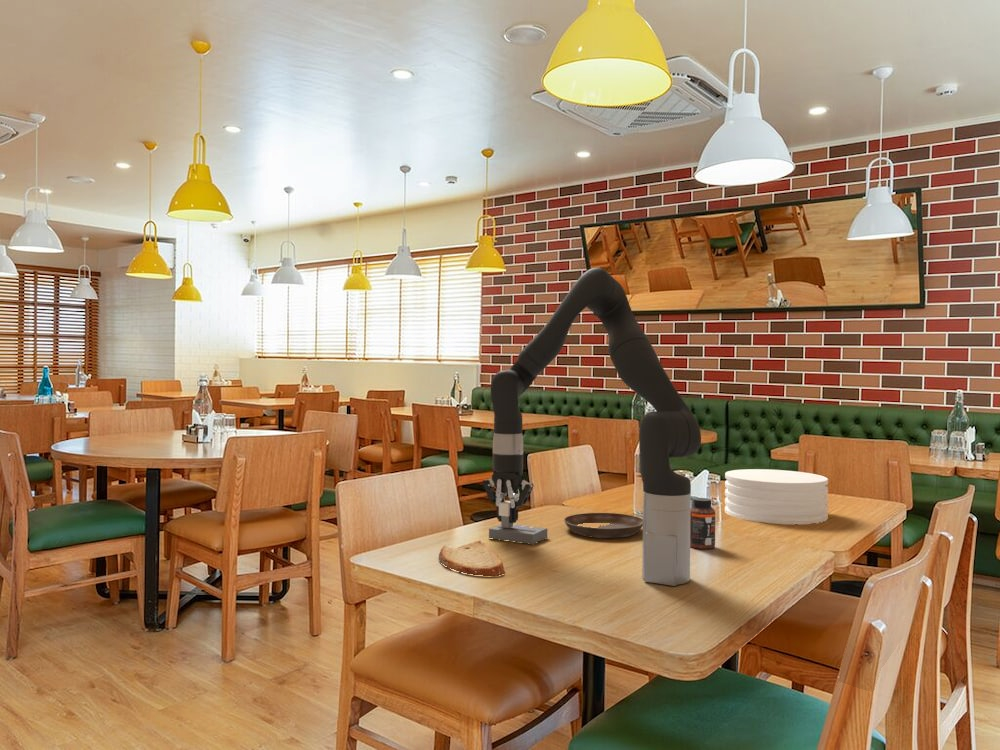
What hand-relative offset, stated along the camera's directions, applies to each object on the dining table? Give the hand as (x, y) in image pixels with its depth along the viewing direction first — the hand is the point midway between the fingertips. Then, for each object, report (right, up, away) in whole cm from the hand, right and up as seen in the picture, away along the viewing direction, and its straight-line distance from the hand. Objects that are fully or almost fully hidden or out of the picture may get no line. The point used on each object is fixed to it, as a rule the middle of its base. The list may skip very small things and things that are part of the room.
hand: (507, 521), depth 174 cm
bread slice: (-7, -5, -23) cm, 25 cm away
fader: (0, -1, 0) cm, 1 cm away
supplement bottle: (+46, -5, -7) cm, 47 cm away
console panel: (+3, -4, 0) cm, 5 cm away
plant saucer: (+25, -5, +9) cm, 27 cm away
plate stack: (+79, -5, +33) cm, 85 cm away
